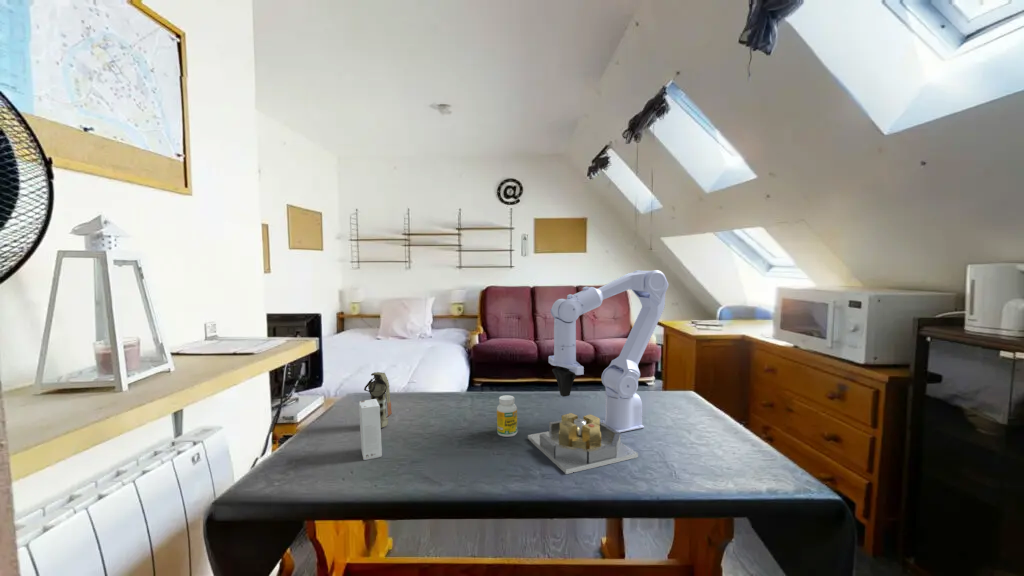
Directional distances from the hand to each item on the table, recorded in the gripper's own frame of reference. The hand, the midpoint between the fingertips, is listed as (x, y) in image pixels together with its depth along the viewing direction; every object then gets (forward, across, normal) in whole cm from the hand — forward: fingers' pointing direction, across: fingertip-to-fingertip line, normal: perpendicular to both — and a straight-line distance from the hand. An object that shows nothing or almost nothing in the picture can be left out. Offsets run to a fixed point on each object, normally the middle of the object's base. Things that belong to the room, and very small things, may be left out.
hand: (565, 395), depth 104 cm
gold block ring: (+9, +9, -2) cm, 13 cm away
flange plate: (+10, +9, -2) cm, 14 cm away
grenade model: (+10, -23, -45) cm, 52 cm away
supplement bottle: (+10, -6, -14) cm, 18 cm away
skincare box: (+10, -8, -48) cm, 50 cm away
